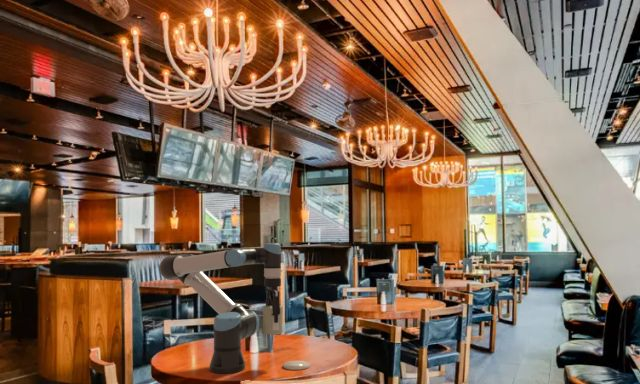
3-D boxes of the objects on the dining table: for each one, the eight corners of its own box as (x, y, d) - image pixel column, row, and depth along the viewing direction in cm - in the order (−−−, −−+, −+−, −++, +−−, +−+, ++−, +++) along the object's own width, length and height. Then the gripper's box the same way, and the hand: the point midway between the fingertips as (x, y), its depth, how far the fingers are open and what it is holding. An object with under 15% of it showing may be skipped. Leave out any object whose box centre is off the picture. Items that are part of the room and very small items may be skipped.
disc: (287, 371, 218) (287, 368, 218) (279, 364, 229) (279, 362, 229) (314, 368, 222) (314, 365, 222) (305, 361, 233) (305, 359, 233)
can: (273, 335, 224) (273, 307, 225) (258, 333, 230) (258, 305, 231) (287, 332, 232) (287, 305, 232) (272, 329, 237) (272, 303, 238)
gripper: (287, 279, 224) (287, 331, 222) (274, 275, 244) (274, 323, 242) (270, 280, 221) (270, 333, 219) (258, 275, 241) (258, 324, 240)
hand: (272, 328), depth 231 cm, fingers closed on can, 9 cm apart
